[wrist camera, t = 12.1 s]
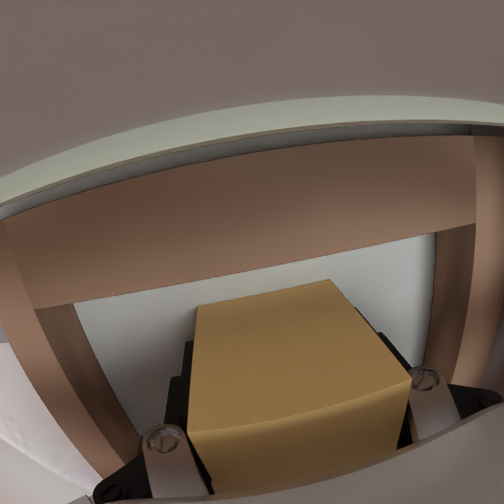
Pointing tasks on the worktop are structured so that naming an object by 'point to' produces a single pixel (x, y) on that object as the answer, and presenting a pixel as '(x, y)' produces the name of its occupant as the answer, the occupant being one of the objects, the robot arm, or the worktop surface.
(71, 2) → the sliding lid
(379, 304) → the worktop surface
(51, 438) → the worktop surface
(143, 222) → the puzzle board
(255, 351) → the block
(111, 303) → the worktop surface
